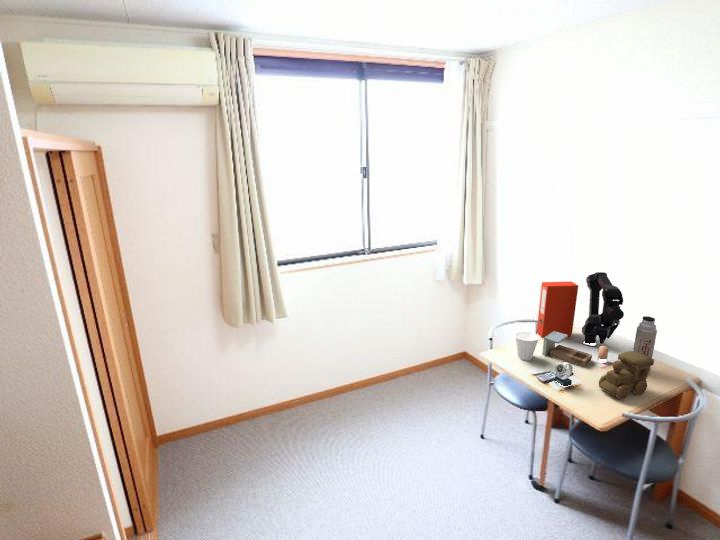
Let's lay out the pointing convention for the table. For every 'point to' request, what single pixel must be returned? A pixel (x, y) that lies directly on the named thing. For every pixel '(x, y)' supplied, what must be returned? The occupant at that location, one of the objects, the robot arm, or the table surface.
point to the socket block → (571, 355)
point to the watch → (561, 370)
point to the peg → (603, 352)
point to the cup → (526, 344)
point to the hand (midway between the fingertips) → (604, 340)
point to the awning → (552, 341)
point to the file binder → (557, 308)
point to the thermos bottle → (645, 337)
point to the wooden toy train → (627, 375)
